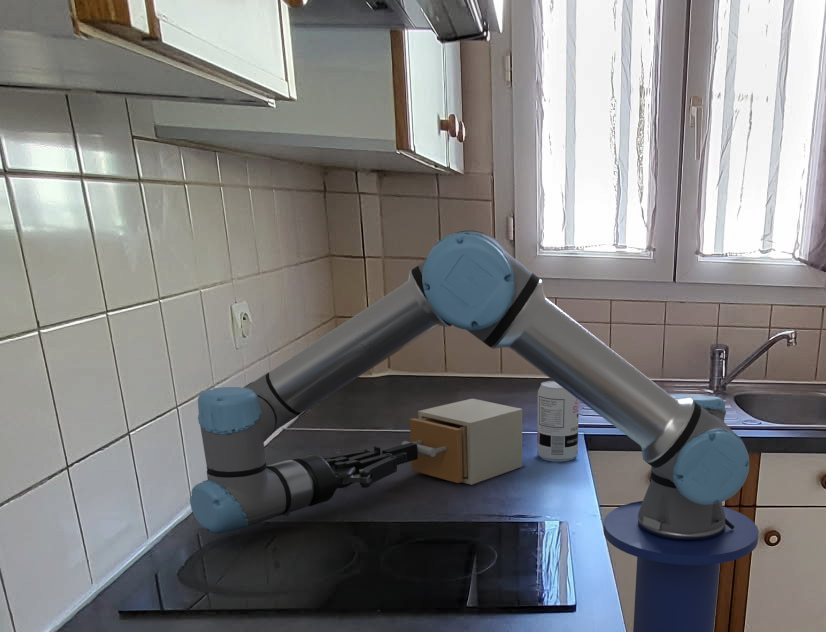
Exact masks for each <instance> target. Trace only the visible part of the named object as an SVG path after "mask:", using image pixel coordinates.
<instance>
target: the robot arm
mask: <svg viewBox="0 0 826 632" xmlns="http://www.w3.org/2000/svg"><path fill="white" fill-rule="evenodd" d="M439 326H440V327H445V328H450V327H452V326H453V327H455V328H457V329H461V330H464V331H467V332H468V333H470V334H471V335H472V336H473V337H475V338H476V339H478V340H479V341H480V342H482V343H484V344H485V345H486V346H487V347H489V348H491V350H494V349H503V348H504V349H505V348H507V349H510V350H512V351H513V352H514V353H515V354H517V355H518V356H520V357H521V358H522V359H523V360H525V361H526V362H528V363H529V364H530V365H532V366H533V367H534V368H535V369H537V370H538V371H540V372H541V373H542V374H544V375H545V376H546V377H547V378H549V379H550V380H551V381H554V382H556V383H557V384H558V385H560V386H561V387H562V388H564V389H565V390H567V391H568V392H569V393H571V394H572V395H573V396H575V397H576V398H577V399H579V402H581V403H583V404H584V405H585V406H587V408H589V409H590V410H592V411H593V412H594V413H596V414H598V415H599V416H600V417H601V418H603V419H604V420H605V421H606V422H608V423H610V424H611V425H612V426H614V427H615V428H616V429H618V430H619V431H620V432H622V433H623V434H624V435H625V436H627V437H628V438H630V439H631V440H632V441H634V442H635V443H636V444H638V445H639V446H640V448H641V456H642V460H643V461H644V462H645V463H647V464H648V465H649V466H650V467H651V469H650V470H651V471H650V482H649V484H648V487H647V490H646V492H645V494H644V497H643V499H642V501H643V502H642V504H641V507H640V509H639V513H638V526H639V527H640V528H641V529H642V530H643V531H645V532H646V533H648V534H650V535H653V536H655V537H659V538H663V539H667V540H674V541H703V540H709V539H712V538H715V537H718V536H719V535H721V534H722V533H723V532H724V530H725V524H726V525H727V526H728V527H730V528H731V529H733V528H734V527H735V526H734V525H732V524H731V523H730V522H729V521H728V520H727V519H726V518H725V513H724V509H723V507H724V505H723V502H725V501H727V500H729V499H731V498H732V497H733V496H734V495H736V494H737V493H738V492H739V491H740V490H741V489H742V488H743V486H744V484H745V482H746V480H747V478H748V476H749V472H750V463H751V462H750V455H749V452H748V449H747V447H746V445H745V442H744V440H743V439H742V438H741V436H739V435H738V434H737V433H735V432H734V430H732V429H731V428H730V427H729V426H728V424H727V423H726V422H725V418H726V415H727V410H726V401H725V400H724V399H723V398H721V397H718V396H714V395H713V396H712V395H703V394H690V393H689V394H687V393H686V394H683V393H682V394H681V393H679V394H677V393H674V394H673V393H672V394H671V393H668V392H667V391H666V390H665V389H664V388H662V387H661V386H659V385H658V384H657V383H655V382H654V381H653V380H651V379H650V377H648V376H646V375H645V374H644V373H643V372H642V371H640V370H639V369H638V368H637V367H635V366H633V365H632V364H631V363H630V362H628V360H626V359H625V358H624V357H622V356H621V355H620V354H618V353H617V352H616V351H615V350H613V349H612V348H611V347H610V346H608V345H607V344H606V343H604V342H603V341H602V340H601V339H600V338H598V337H597V336H595V335H594V334H593V333H591V332H590V330H588V329H586V328H585V327H584V326H583V325H582V324H580V323H579V322H577V321H576V319H574V318H573V317H572V316H570V315H569V314H568V313H566V312H565V311H563V310H562V309H561V308H560V307H559V306H557V305H556V304H555V303H553V302H552V301H551V300H549V298H547V297H546V295H545V292H544V286H543V280H542V279H540V278H539V276H537V275H536V274H535V273H533V272H532V271H531V270H529V268H527V267H526V266H525V265H523V264H522V263H521V262H520V261H518V260H517V259H515V258H514V257H513V256H512V255H511V254H510V253H508V251H507V249H506V248H505V247H504V246H503V244H502V243H500V241H499V240H498V239H496V238H495V237H493V236H492V235H490V234H488V233H486V232H483V231H479V230H473V229H472V230H462V231H457V232H454V233H451V234H448V235H446V236H444V237H443V238H441V239H439V240H438V241H437V242H436V243H435V245H434V246H433V247H432V248H431V249H430V250H429V253H428V255H427V257H426V258H425V260H424V261H422V262H421V263H419V264H418V265H417V266H415V267H413V268H412V269H411V270H409V272H408V278H407V281H405V282H404V283H402V284H401V285H399V286H398V287H396V288H395V289H393V290H391V292H388V293H387V294H385V295H384V296H383V297H381V298H380V299H377V301H374V302H373V303H372V304H370V305H368V307H366V308H363V310H361V311H360V312H358V313H357V314H355V315H353V316H352V317H350V318H349V319H347V320H346V321H344V322H343V323H341V324H339V325H338V326H337V327H335V328H333V329H332V330H331V331H329V332H328V333H326V334H324V335H323V336H321V337H320V338H318V339H317V340H315V341H313V342H312V343H310V344H309V345H308V346H306V347H305V348H303V349H302V350H300V351H298V352H297V353H295V354H293V355H292V356H290V357H289V358H288V359H286V360H285V361H283V362H281V363H280V364H278V365H277V366H275V367H274V368H272V369H271V370H270V371H269V372H267V373H265V374H263V375H262V376H260V377H258V378H257V379H256V380H254V381H252V382H249V383H247V384H246V385H245V386H243V387H242V386H241V387H240V386H221V387H215V388H212V389H206V390H204V391H202V392H201V393H200V394H198V397H197V409H198V410H197V411H198V414H197V421H198V424H199V425H200V426H199V427H200V433H201V438H202V446H203V452H204V458H205V464H206V477H207V479H205V480H202V482H198V483H197V484H195V485H194V486H193V487H192V489H191V492H190V494H191V496H190V497H189V503H190V508H191V511H192V513H193V516H194V518H195V520H196V521H197V522H198V524H199V525H200V526H201V527H202V528H203V529H204V530H206V531H208V532H210V533H212V534H224V533H227V532H232V531H235V530H240V529H241V530H242V529H246V528H247V527H249V526H252V525H256V524H260V523H261V522H264V521H267V520H270V519H273V518H277V517H281V516H284V517H288V516H289V515H290V513H293V512H296V511H298V510H303V509H305V508H307V507H313V506H316V505H319V504H322V503H326V502H328V501H330V500H331V499H332V498H333V497H334V495H335V493H336V491H337V489H344V488H347V487H350V486H351V485H352V484H357V483H358V484H359V485H360V487H361V488H363V489H367V488H370V486H372V484H374V483H376V482H378V481H380V480H382V479H384V478H386V477H388V476H390V475H392V474H394V473H395V474H396V472H398V466H399V465H402V464H407V463H409V462H412V461H413V460H416V459H418V452H417V444H415V443H407V444H404V445H401V444H400V445H396V446H394V447H390V448H385V449H382V450H381V446H378V445H376V446H373V451H371V450H370V449H369V448H367V449H366V448H365V449H361V450H359V449H358V450H354V451H349V452H342V453H337V454H336V453H335V454H330V455H325V456H319V455H318V454H309V455H304V456H301V457H296V458H293V459H287V460H284V461H280V462H277V463H273V464H269V465H268V464H267V460H266V451H265V442H266V441H267V440H268V439H269V438H270V437H271V436H272V435H273V434H274V433H275V432H276V431H277V430H279V429H280V428H283V426H285V425H287V424H288V423H290V422H291V421H292V420H294V419H296V418H297V417H298V416H301V414H303V413H305V412H306V411H307V410H309V409H311V408H312V407H314V406H315V405H317V404H319V403H320V402H322V401H323V400H324V399H326V398H328V397H329V396H331V395H333V394H334V393H336V392H337V391H339V390H340V389H342V388H343V387H346V385H348V384H350V383H351V382H353V381H354V380H356V379H357V378H359V377H360V376H362V375H364V374H365V373H367V372H369V371H370V370H371V369H373V368H375V367H376V366H378V365H380V364H381V363H382V362H384V361H386V360H387V359H389V358H390V357H392V356H393V355H395V354H397V353H398V352H400V351H402V350H403V349H404V348H406V347H407V346H409V345H410V344H412V343H413V342H415V341H417V340H419V339H420V338H422V337H423V336H424V335H427V334H428V333H429V332H431V331H432V330H434V329H436V328H437V327H439Z"/></svg>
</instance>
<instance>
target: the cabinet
mask: <svg viewBox="0 0 826 632" xmlns="http://www.w3.org/2000/svg"><path fill="white" fill-rule="evenodd" d="M417 415H418V418H417V419H420V420H423V418H426V417H428V418H432V419H437V420H441V421H445V422H450V423H454V424H458V425H463V426H467V452H468V477H463V482H462V483H463V484H466V485H471V486H473V485H475V484H477V483H480V482H483V481H487V480H490V479H492V478H494V477H498V476H501V475H503V474H506V473H509V472H511V471H514V470H517V469H519V468H522V467H523V408H519V407H515V406H510V405H505V404H500V403H495V402H490V401H487V400H481V399H477V398H468V399H465V400H461V401H460V400H459V401H455V402H451V403H447V404H441V405H438V406H433V407H430V408H426V409H422V410H421V409H420V410H418V411H417Z"/></svg>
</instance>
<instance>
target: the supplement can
mask: <svg viewBox="0 0 826 632" xmlns="http://www.w3.org/2000/svg"><path fill="white" fill-rule="evenodd" d="M579 412H580V400H579V399H577V398H576V397H575V396H573V395H572V394H571V393H569V392H568V391H567V390H565V389H564V388H562V387H561V386H560V385H558V384H557V383H556V382H554V381H553V380H547V381H543V382H541V383H540V386H539V388H538V390H537V419H536V420H537V422H536V423H537V426H536V427H537V430H536V432H537V433H536V435H537V437H536V440H537V442H536V454H537V455H538V456H539V457H540V458H541V459H542V460H545V461H548V462H556V463H557V462H558V463H559V462H569V461H572V460H573V459H575V457H577V456H578V454H579V453H578V452H579V417H580V416H579V415H580V413H579Z"/></svg>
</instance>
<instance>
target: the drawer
mask: <svg viewBox="0 0 826 632" xmlns="http://www.w3.org/2000/svg"><path fill="white" fill-rule="evenodd" d="M409 437H410V441H407V440H404V441H403V440H402V442H401V443H400V445H404V444H407V443H415V444H417V452H418V459H416V460H413V461H411V471H412V472H416V473H419V474H423V475H426V476H430V477H433V478H434V477H435V478H436V479H437V478H438V479H442V480H446V481H447V482H452V483H456V484H460V483H463V477H468V452H467V426H463V425H458V424H454V423H450V422H445V421H441V420H437V419H432V418H428V417H426V418H423V420H420V419H419V418H417V417H413V418H409Z"/></svg>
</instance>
